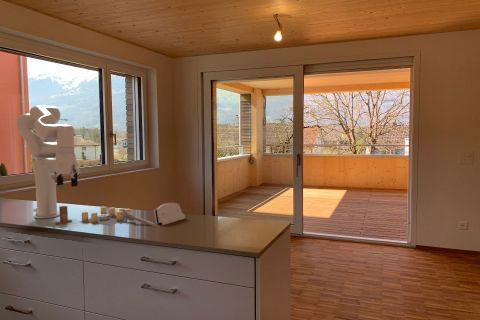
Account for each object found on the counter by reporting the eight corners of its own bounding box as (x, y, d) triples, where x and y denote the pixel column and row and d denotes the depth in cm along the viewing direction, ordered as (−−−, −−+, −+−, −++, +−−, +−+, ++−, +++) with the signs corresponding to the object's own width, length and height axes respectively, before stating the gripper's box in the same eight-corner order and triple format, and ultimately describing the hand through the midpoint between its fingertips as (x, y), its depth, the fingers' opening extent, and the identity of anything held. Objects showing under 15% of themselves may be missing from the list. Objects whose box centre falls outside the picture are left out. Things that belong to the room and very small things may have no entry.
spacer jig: (78, 223, 179) (77, 213, 178) (104, 215, 195) (103, 206, 195) (110, 226, 171) (109, 216, 171) (134, 218, 188) (134, 208, 188)
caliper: (121, 221, 180) (121, 209, 179) (122, 221, 181) (122, 209, 180) (155, 226, 172) (155, 214, 171) (156, 226, 173) (156, 213, 172)
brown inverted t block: (55, 225, 174) (54, 207, 173) (67, 222, 181) (66, 204, 180) (60, 226, 173) (59, 208, 172) (72, 222, 179) (71, 205, 179)
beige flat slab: (162, 225, 173) (157, 205, 174) (156, 227, 176) (150, 207, 177) (186, 218, 187) (180, 199, 188) (179, 219, 190) (174, 201, 191)
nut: (95, 220, 182) (95, 216, 182) (104, 217, 188) (103, 213, 187) (103, 220, 180) (103, 216, 180) (111, 218, 186) (111, 214, 186)
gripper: (46, 150, 174) (48, 185, 176) (72, 151, 167) (73, 188, 169) (59, 149, 181) (61, 183, 182) (85, 150, 174) (86, 185, 175)
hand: (67, 185), depth 175 cm, fingers open, 9 cm apart
